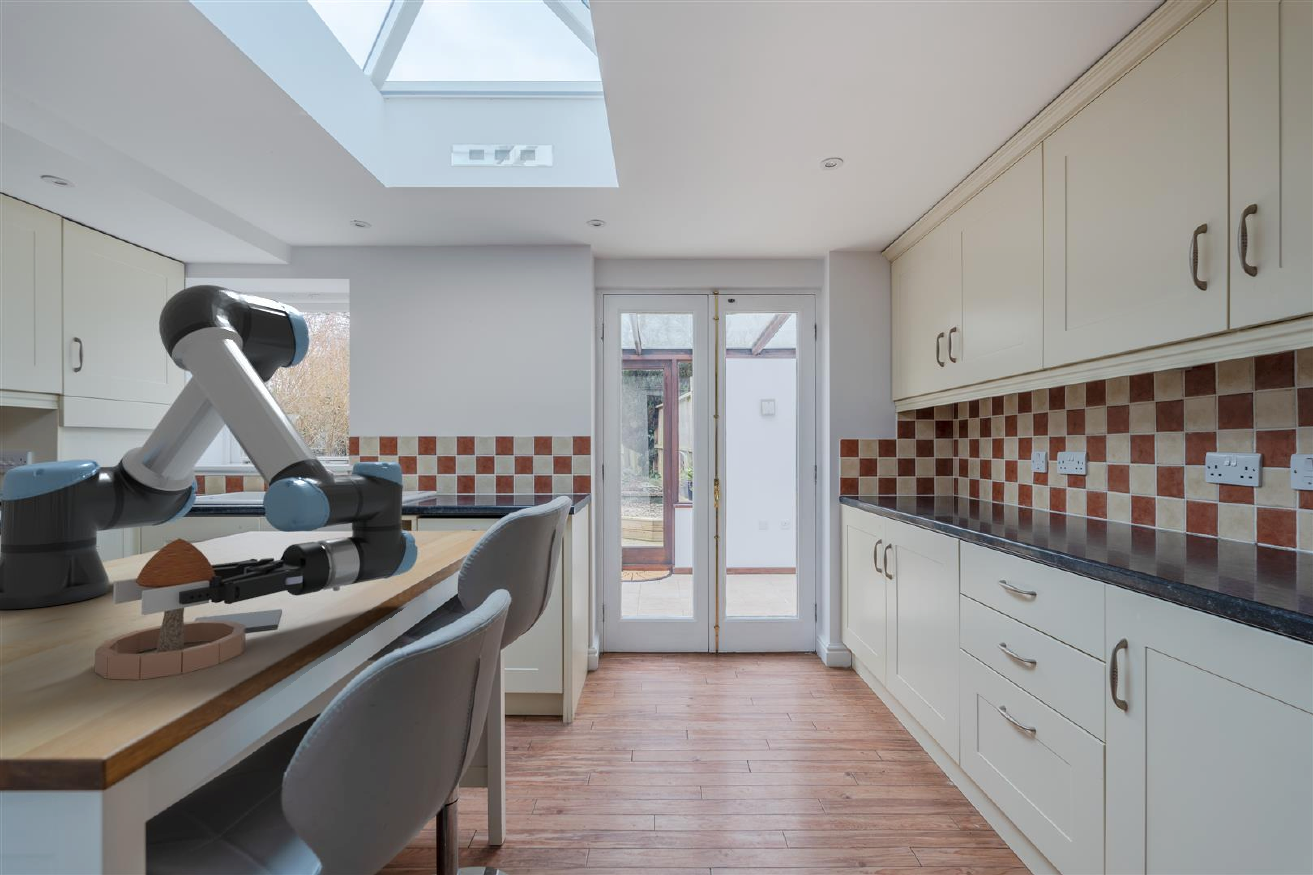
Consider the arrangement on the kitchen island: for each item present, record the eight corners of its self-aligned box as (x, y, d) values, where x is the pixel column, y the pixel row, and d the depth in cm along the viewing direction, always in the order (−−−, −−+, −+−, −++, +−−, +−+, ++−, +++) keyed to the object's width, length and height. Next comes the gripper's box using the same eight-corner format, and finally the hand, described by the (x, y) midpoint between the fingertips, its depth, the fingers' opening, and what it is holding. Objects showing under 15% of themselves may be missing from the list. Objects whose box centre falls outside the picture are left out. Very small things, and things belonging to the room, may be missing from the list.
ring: (118, 648, 79) (118, 629, 79) (249, 632, 86) (250, 615, 86) (78, 687, 66) (78, 665, 67) (236, 666, 73) (236, 645, 73)
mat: (196, 621, 91) (196, 617, 91) (281, 612, 96) (282, 609, 96) (183, 639, 83) (183, 634, 83) (277, 628, 88) (277, 624, 88)
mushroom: (224, 654, 77) (227, 537, 77) (146, 673, 71) (149, 545, 71) (199, 642, 82) (202, 531, 82) (124, 659, 75) (126, 539, 75)
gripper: (358, 600, 86) (164, 645, 67) (281, 581, 97) (96, 615, 78) (359, 548, 86) (165, 577, 67) (282, 535, 97) (97, 556, 78)
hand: (128, 597), depth 72 cm, fingers closed on mushroom, 8 cm apart
